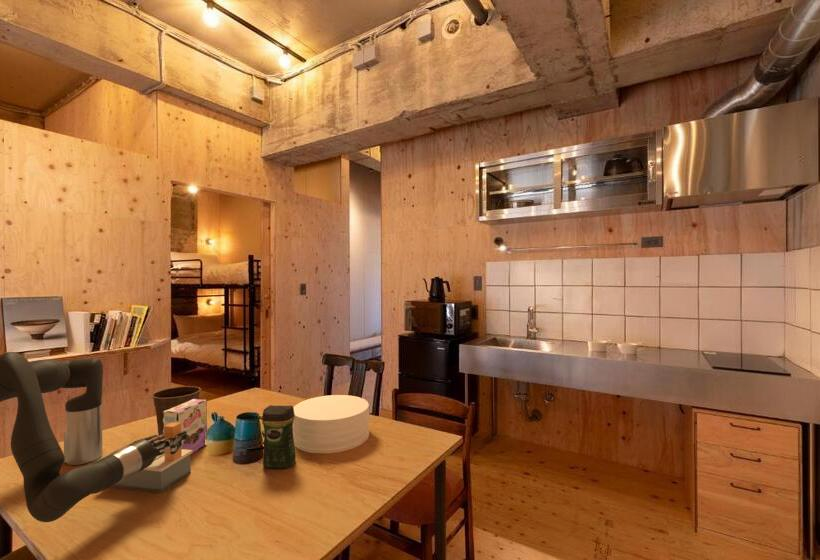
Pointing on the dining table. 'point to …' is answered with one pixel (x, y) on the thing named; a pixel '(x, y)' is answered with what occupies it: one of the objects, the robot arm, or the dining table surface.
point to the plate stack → (330, 423)
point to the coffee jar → (278, 436)
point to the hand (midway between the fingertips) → (180, 433)
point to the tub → (157, 477)
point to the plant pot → (172, 400)
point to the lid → (167, 458)
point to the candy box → (189, 422)
